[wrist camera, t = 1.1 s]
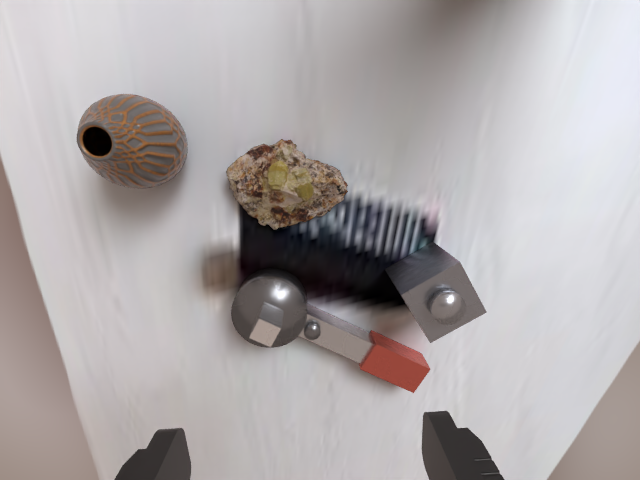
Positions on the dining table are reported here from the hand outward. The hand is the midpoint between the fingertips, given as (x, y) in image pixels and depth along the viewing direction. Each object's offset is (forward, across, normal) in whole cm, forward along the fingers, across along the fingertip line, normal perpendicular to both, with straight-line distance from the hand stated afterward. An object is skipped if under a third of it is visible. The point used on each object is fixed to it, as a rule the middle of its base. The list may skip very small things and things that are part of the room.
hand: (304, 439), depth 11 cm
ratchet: (+22, -2, +9) cm, 24 cm away
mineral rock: (+22, +1, -6) cm, 23 cm away
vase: (+22, +13, -10) cm, 27 cm away
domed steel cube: (+22, -11, +4) cm, 25 cm away
